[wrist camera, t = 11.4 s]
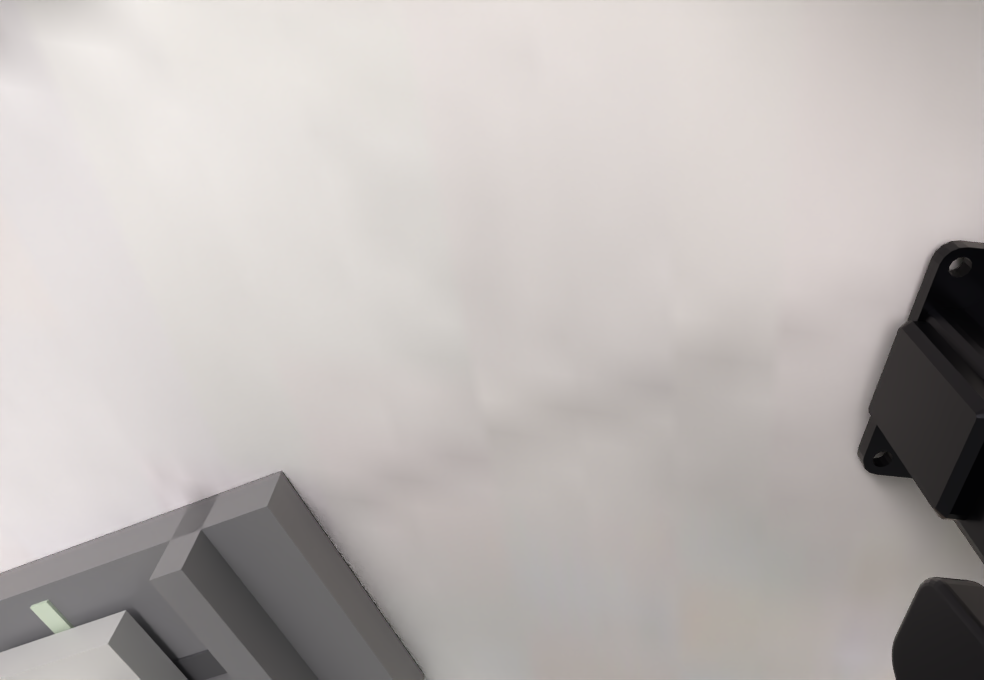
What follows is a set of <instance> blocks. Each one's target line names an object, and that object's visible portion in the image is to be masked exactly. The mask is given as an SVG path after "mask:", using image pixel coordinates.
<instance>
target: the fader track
mask: <svg viewBox="0 0 984 680" xmlns="http://www.w3.org/2000/svg"><path fill="white" fill-rule="evenodd" d="M125 610H126V611H127V612H128V613H129V614H130V615H131V616H132V617H133V618H134V620H135V621H136V622H137V623H138V624H139V625H140V626H141V627H142V628H143V630H144V631H145V632H146V633H147V634H148V635H149V636H150V637H151V639H152V640H153V641H154V642H155V643H156V644H157V645H158V646H159V648H160V649H161V650H162V651H163V652H164V653H165V654H166V655H167V657H168V658H169V659H170V660H171V661H172V662H173V663H174V664H175V665H176V667H177V668H178V669H179V670H180V671H181V672H182V673H183V674H184V676H185V677H186V678H187V679H188V680H424V674H423V673H422V671H421V670H420V668H419V667H418V666H417V664H416V663H415V661H414V660H413V658H412V657H411V656H410V654H409V653H408V651H407V650H406V648H405V647H404V646H403V644H402V643H401V641H400V640H399V638H398V637H397V636H396V634H395V633H394V631H393V630H392V628H391V627H390V626H389V624H388V623H387V621H386V620H385V618H384V617H383V616H382V614H381V613H380V611H379V610H378V608H377V607H376V605H375V604H374V603H373V601H372V600H371V598H370V597H369V595H368V594H367V593H366V591H365V590H364V588H363V587H362V585H361V584H360V583H359V581H358V580H357V578H356V577H355V575H354V574H353V573H352V571H351V570H350V568H349V567H348V565H347V564H346V563H345V561H344V560H343V558H342V557H341V555H340V554H339V553H338V551H337V550H336V548H335V547H334V545H333V544H332V542H331V541H330V540H329V538H328V537H327V535H326V534H325V532H324V531H323V530H322V528H321V527H320V525H319V524H318V522H317V521H316V520H315V518H314V517H313V515H312V514H311V512H310V511H309V510H308V508H307V507H306V505H305V504H304V502H303V501H302V500H301V498H300V497H299V495H298V494H297V492H296V491H295V490H294V488H293V487H292V485H291V484H290V482H289V481H288V480H287V478H286V477H285V475H284V474H283V472H282V471H280V472H278V473H275V474H272V475H269V476H267V477H264V478H261V479H258V480H256V481H253V482H250V483H247V484H245V485H242V486H239V487H236V488H234V489H231V490H228V491H225V492H223V493H220V494H217V495H214V496H212V497H209V498H206V499H203V500H201V501H198V502H195V503H192V504H190V505H187V506H184V507H181V508H179V509H176V510H173V511H170V512H168V513H165V514H162V515H159V516H157V517H154V518H151V519H148V520H146V521H143V522H140V523H138V524H135V525H132V526H129V527H127V528H124V529H121V530H118V531H116V532H113V533H110V534H107V535H105V536H102V537H99V538H96V539H94V540H91V541H88V542H85V543H83V544H80V545H77V546H74V547H72V548H69V549H66V550H63V551H61V552H58V553H55V554H52V555H50V556H47V557H44V558H41V559H39V560H36V561H33V562H30V563H28V564H25V565H22V566H19V567H17V568H14V569H11V570H8V571H6V572H3V573H0V652H3V651H6V650H9V649H12V648H15V647H18V646H21V645H24V644H27V643H30V642H33V641H36V640H39V639H42V638H45V637H48V636H51V635H53V634H56V633H59V632H62V631H65V630H68V629H71V628H74V627H77V626H80V625H83V624H86V623H89V622H92V621H95V620H98V619H101V618H104V617H107V616H110V615H113V614H116V613H119V612H122V611H125Z"/></svg>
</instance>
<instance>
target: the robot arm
mask: <svg viewBox="0 0 984 680" xmlns="http://www.w3.org/2000/svg"><path fill="white" fill-rule="evenodd" d="M960 257H964V261H963V263H962V264H961V266H960V267H958V268H957V269H955V270H949V266H950V265H951V263H952V262H953V261H954V260H956V259H957V258H960ZM869 413H870V415H871V417H870V419H869V422H868V425H867V427H866V430H865V432H864V435H863V438H862V440H861V443H860V445H859V448H858V457H859V459H860V461H861V463H862V464H863V466H864V468H865V469H866V470H867V471H868V472H870V473H873V474H877V475H887V476H897V477H907V478H913V479H914V481H915V482H916V484H917V485H918V487H919V488H920V490H921V491H922V493H923V494H924V496H925V497H926V499H927V500H928V502H929V503H930V505H931V506H932V508H933V509H934V511H935V512H936V513H937V515H938V516H939V517H940V518H941V519H948V520H954V521H955V523H956V524H957V526H958V527H959V529H960V530H961V531H962V533H963V534H964V536H965V537H966V539H967V540H968V542H969V543H970V545H971V546H972V547H973V549H974V550H975V552H976V553H977V555H978V556H979V558H980V559H981V561H982V562H983V564H984V243H978V242H968V241H951V242H949V243H947V244H944V245H942V246H941V247H940V248H939V249H938V250H937V251H936V252H935V254H934V255H933V257H932V259H931V261H930V264H929V266H928V269H927V272H926V274H925V277H924V279H923V282H922V284H921V287H920V290H919V292H918V295H917V297H916V300H915V303H914V305H913V308H912V310H911V313H910V316H909V318H908V321H907V322H906V323H905V324H904V325H902V326H901V327H900V328H899V330H898V332H897V335H896V338H895V340H894V343H893V345H892V348H891V351H890V353H889V356H888V359H887V361H886V364H885V366H884V369H883V372H882V374H881V377H880V380H879V382H878V385H877V387H876V390H875V393H874V395H873V398H872V400H871V403H870V406H869ZM883 451H886V452H885V454H884V455H883V456H881V457H879V458H873V457H874V456H875V455H876V454H877V453H879V452H883ZM892 664H893V670H894V674H895V678H896V680H984V587H983V586H982V585H980V584H978V583H976V582H973V581H969V580H960V579H950V578H940V577H933V578H928V579H927V580H925V581H924V582H923V583H922V584H921V585H920V586H919V588H918V590H917V592H916V594H915V596H914V598H913V600H912V603H911V605H910V607H909V609H908V611H907V613H906V615H905V617H904V619H903V622H902V624H901V626H900V628H899V630H898V632H897V634H896V636H895V639H894V642H893V647H892Z"/></svg>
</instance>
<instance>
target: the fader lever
mask: <svg viewBox="0 0 984 680" xmlns="http://www.w3.org/2000/svg"><path fill="white" fill-rule="evenodd" d="M0 680H188V679H187V678H186V677H185V676H184V674H183V673H182V672H181V671H180V670H179V669H178V668H177V667H176V665H175V664H174V663H173V662H172V661H171V660H170V659H169V658H168V657H167V655H166V654H165V653H164V652H163V651H162V650H161V649H160V648H159V646H158V645H157V644H156V643H155V642H154V641H153V640H152V639H151V637H150V636H149V635H148V634H147V633H146V632H145V631H144V630H143V628H142V627H141V626H140V625H139V624H138V623H137V622H136V621H135V620H134V618H133V617H132V616H131V615H130V614H129V613H128V612H127V611H126V610H125V611H122V612H119V613H116V614H113V615H110V616H107V617H104V618H101V619H98V620H95V621H92V622H89V623H86V624H83V625H80V626H77V627H74V628H71V629H68V630H65V631H62V632H59V633H56V634H53V635H51V636H48V637H45V638H42V639H39V640H36V641H33V642H30V643H27V644H24V645H21V646H18V647H15V648H12V649H9V650H6V651H3V652H0Z"/></svg>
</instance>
